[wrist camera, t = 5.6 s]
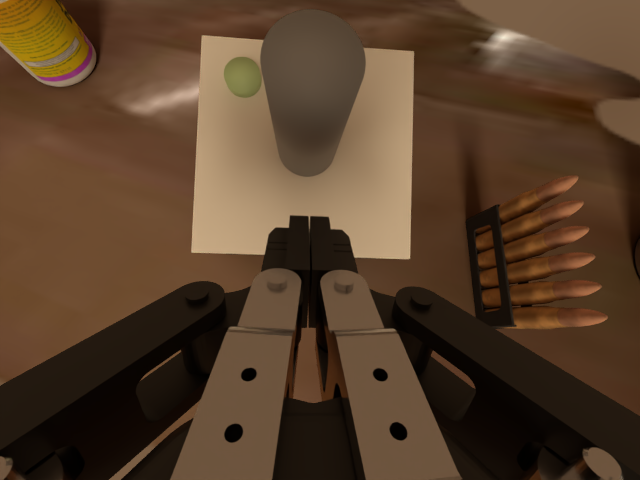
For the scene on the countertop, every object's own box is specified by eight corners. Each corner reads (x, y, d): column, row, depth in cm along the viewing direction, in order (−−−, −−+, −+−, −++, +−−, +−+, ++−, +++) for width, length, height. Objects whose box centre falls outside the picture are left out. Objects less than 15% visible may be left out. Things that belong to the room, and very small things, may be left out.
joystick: (408, 61, 24) (505, -107, 13) (404, 258, 23) (502, 264, 12) (207, 46, 23) (119, -150, 12) (197, 252, 22) (94, 252, 11)
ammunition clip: (465, 219, 32) (561, 162, 20) (482, 220, 32) (588, 163, 20) (477, 328, 29) (594, 334, 18) (496, 328, 29) (625, 334, 18)
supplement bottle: (113, 59, 34) (5, -93, 21) (64, 101, 32) (-83, -38, 20) (67, 27, 34) (-64, -140, 22) (17, 66, 33) (-155, -91, 20)
